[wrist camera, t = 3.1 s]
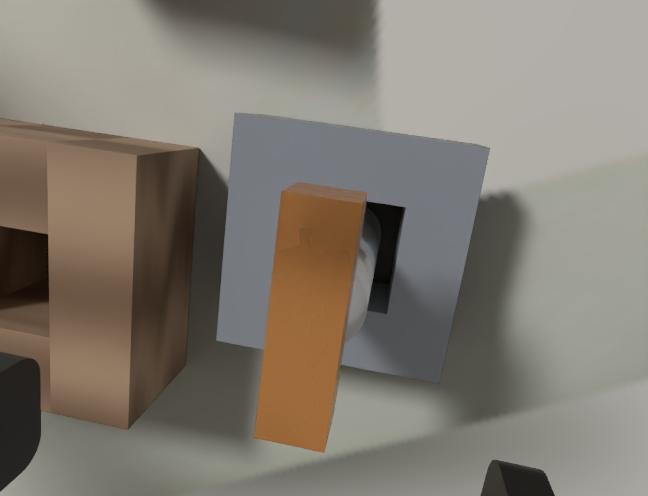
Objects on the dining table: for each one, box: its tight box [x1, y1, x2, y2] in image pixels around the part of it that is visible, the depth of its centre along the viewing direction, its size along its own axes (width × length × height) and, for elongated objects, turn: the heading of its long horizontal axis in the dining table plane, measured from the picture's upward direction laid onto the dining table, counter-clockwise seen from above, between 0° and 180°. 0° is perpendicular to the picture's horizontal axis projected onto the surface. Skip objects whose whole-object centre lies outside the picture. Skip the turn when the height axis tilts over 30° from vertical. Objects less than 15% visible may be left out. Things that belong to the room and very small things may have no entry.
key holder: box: [216, 113, 490, 384], centre depth 22 cm, size 10×10×4 cm
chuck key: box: [254, 182, 381, 453], centre depth 19 cm, size 7×3×12 cm, turn 173°
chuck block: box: [0, 119, 199, 430], centre depth 24 cm, size 12×12×6 cm
